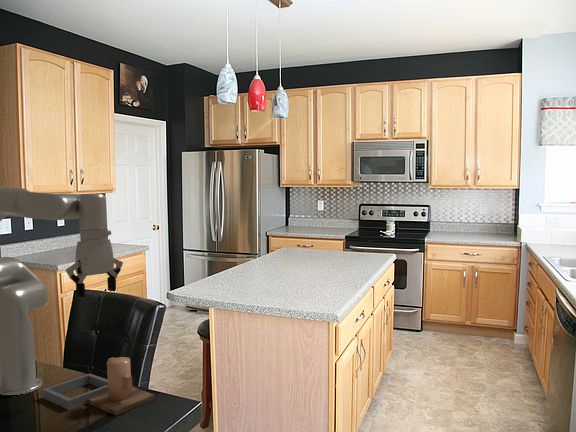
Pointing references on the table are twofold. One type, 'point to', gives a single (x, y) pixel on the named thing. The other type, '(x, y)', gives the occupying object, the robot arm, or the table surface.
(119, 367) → the tan tapered capsule
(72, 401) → the holder frame
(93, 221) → the robot arm
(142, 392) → the board
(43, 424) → the table surface
